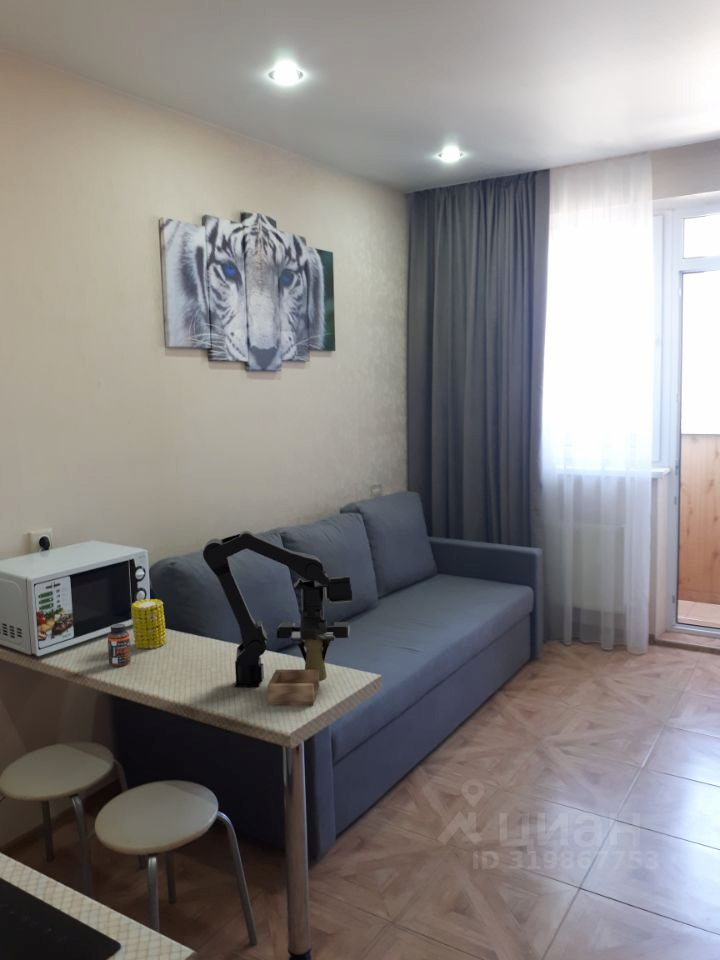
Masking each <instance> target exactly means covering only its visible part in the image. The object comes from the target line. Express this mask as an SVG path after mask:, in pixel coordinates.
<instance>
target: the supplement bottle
mask: <svg viewBox="0 0 720 960" xmlns="http://www.w3.org/2000/svg"><path fill="white" fill-rule="evenodd" d="M126 629H127V628H126V624H125V623H115V624H114V623H113V624H112V625H110V632H109V633H108V635H107V650H108V663H109V666H111V667H123V666H127V665H129V664H130V663H131V659H132V658H131V655H132V654H131V642H130V641H131V640H130V632H129V631H127V630H126Z"/></svg>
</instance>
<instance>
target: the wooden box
mask: <svg viewBox="0 0 720 960" xmlns="http://www.w3.org/2000/svg"><path fill="white" fill-rule="evenodd" d="M320 686H321V685H320V680H319V669H311V670H305V669H275V671H274V673H273V674H272V675H271V678H270V680H269V682H268V684H267V706H268V707H269V706H270V707H276V706H277V707H279V706H281V707H284V706H285V707H288V706H289V707H291V706H292V707H293V706H294V707H296V706H297V707H298V706H300V707H302V706H303V707H305V706H308V707H311V706H312V707H313V706H314V705H315V701H316V698H317V696H318V694H319V693H318V692H319V690H320ZM271 705H272V706H271Z"/></svg>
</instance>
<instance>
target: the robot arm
mask: <svg viewBox="0 0 720 960" xmlns="http://www.w3.org/2000/svg"><path fill="white" fill-rule="evenodd" d="M246 549H247V550H250V551H252V552H254V553H256V554H259V555H261V556H264V557H266V558H268V559H270V560H273V561H275V562H277V563H279V564H282V565H284V566H287V567H288V568H289V569H291V570H292V571H293V572H295V573H296V574H297V575H299V576H301V577H302V578H304V579H305V580H303V579H302V578H301V577H299V578H298V580H297V581H296V582H295V583H294V584H293V587H294V590H301V619H300V625H297V626H296V623H295V621H294V622H293V621H289V622H288V621H287V622H285V621H284V622H283V621H282V622H281V623H280V624H279V626H278V627H277V629H276V638H277V639H289V638H290V641H291V642H295V643H296V645H297V646H298V648H299V650H300V652H301V655H302V657H303V660H304V663H305V662H306V650H307V649H306V647H305V645H304V641H305V640H306V639H313V640H317V639H319V637H320V636H321V635H323V634H324V637H323V647H322V651H323V654H322V658H323V662H326V661H325V659H326V656H327V653H328V649H329V646H330V644H331V642H333V641H335V640H336V639H347V638H349V636H350V633H351V628H350V627H351V626H350V623H349V622H348V621H334V623H333V625H328V622H327V619H325V608H324V607H325V606H324V594H325V600H328V602H329V603H330V604H337V603H351V602H352V600H353V590H352V585H351V577H350V576H349V575H343V576H334V577H333V576H332V577H329V575H328V573H327V572H325V570H324V566H323V564H322V562H321V560H320V558H318V556H316V555H314V554H313V555H312V554H309V553H304V552H300V551H294V550H290V549H288V548H285V547H283V546H281V545H279V544H276V543H275V542H273V541H272V542H271V541H269V540H268V539H265V538H263V537H261V536H258V535H256V534H254V533H252V532H251V531H248V530H244V531H242V532H241V533H238V534H233V535H231V536H227V537H224V538H222V539H220V538H213V539H210V540H208V541H207V542H206V543H205V545H204V547H203V552H202V557H203V560H204V562H205V563H206V564H207V565H208V567H209V569H210V570H211V572H212V573H213V574H214V575H215V576H216V577H217V579H218V581H219V584H220V585H221V588H222V590H223V593H224V595H225V597H226V599H227V601H228V604H229V605H230V608H231V610H232V613H233V615H234V618H235V620H236V623H237V624H238V627H239V632H240V637H241V638H240V639H241V643H240V644H238V646H237V648H236V654H235V655H236V658H235V661H234V665H235V666H234V667H235V669H234V670H235V683H234V688H235V687H236V688H241V687H242V688H243V687H246V688H247V687H253V688H257V687H260V685H261V683H262V682H263V681H264V679H265V674H264V672H265V671H264V669H265V667H264V663H262V658H261V656H262V655H264V654H265V652H266V649H267V642H268V633H267V631H266V630H265V628H264V626H263V624H262V623H263V622H262V620H258V621H257V622H256V620H255V619H254V618H253V616H252V615H251V612H250V610H249V607H248V605H247V603H246V600H245V598H244V596H243V593H242V591H241V589H240V587H239V584H238V583H237V580H236V577H235V575H234V574H233V570H232V567H231V561H230V557H232V556H233V555H235V554H237V553H240V552H241V551H244V550H246ZM315 581H316V582H315Z"/></svg>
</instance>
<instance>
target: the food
mask: <svg viewBox="0 0 720 960" xmlns="http://www.w3.org/2000/svg"><path fill="white" fill-rule="evenodd" d="M163 605H164V602H163V601H162V600H161V599H157V598H154V599H148V598H147V599H146V598H145V599H139V600H135V601H134V602H132V604H131V607H130V609H131V617H132V618H131V619H132V623H131V624H132V631H133V638H134V640H133V641H134V644H135V645H134V647H136V648H137V649H154V648H155V649H159V647H162V646H163V645H164V644H166V640H167V634H166V621H165V620H166V619H165V615H164V614H165V612H164V610H165V609H164V606H163Z"/></svg>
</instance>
